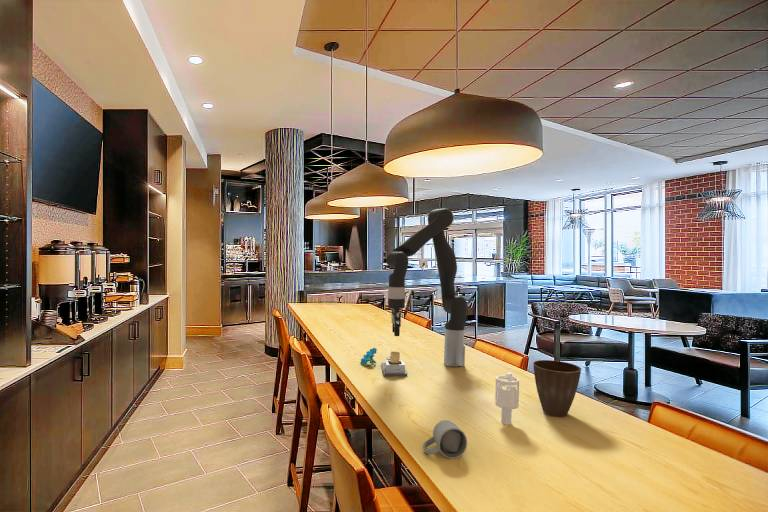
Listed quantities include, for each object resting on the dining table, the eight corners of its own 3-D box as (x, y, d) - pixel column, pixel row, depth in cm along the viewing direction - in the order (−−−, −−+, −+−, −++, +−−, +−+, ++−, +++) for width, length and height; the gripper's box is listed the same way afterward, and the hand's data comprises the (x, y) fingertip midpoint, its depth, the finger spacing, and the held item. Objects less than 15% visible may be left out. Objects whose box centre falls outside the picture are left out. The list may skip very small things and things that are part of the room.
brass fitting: (398, 369, 184) (399, 351, 184) (399, 371, 180) (400, 353, 180) (389, 369, 183) (390, 351, 183) (390, 371, 179) (391, 353, 179)
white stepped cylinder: (520, 421, 131) (521, 374, 131) (515, 429, 125) (516, 379, 125) (498, 416, 135) (499, 370, 135) (491, 423, 129) (493, 375, 129)
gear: (358, 357, 201) (373, 343, 201) (367, 365, 202) (382, 352, 202) (360, 366, 190) (375, 352, 190) (368, 375, 191) (384, 360, 191)
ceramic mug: (456, 443, 114) (457, 415, 114) (467, 458, 106) (467, 428, 106) (419, 446, 112) (419, 418, 112) (427, 461, 104) (427, 430, 104)
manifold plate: (402, 365, 195) (402, 355, 195) (407, 376, 177) (407, 365, 177) (381, 365, 194) (381, 355, 194) (384, 376, 176) (384, 365, 176)
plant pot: (575, 408, 144) (576, 362, 144) (584, 424, 130) (585, 373, 130) (530, 402, 148) (531, 358, 149) (533, 418, 134) (535, 369, 134)
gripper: (407, 299, 174) (406, 337, 175) (403, 295, 189) (402, 331, 189) (389, 298, 174) (388, 337, 174) (386, 295, 188) (386, 331, 188)
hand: (395, 334), depth 181 cm, fingers open, 8 cm apart
